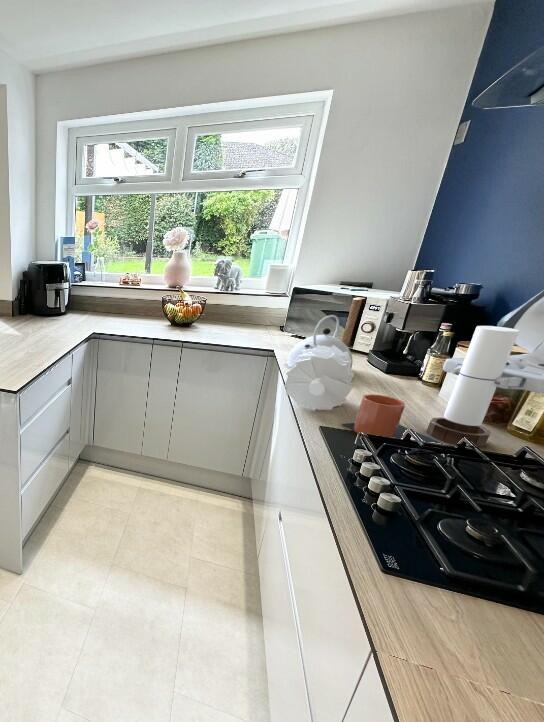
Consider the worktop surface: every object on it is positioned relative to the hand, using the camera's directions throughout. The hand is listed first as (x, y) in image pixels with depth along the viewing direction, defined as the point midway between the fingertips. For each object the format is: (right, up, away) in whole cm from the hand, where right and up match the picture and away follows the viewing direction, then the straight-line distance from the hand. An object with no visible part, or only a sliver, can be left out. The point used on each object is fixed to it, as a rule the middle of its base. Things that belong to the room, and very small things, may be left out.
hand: (477, 376), depth 103 cm
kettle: (+6, +5, +67) cm, 67 cm away
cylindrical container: (+1, -12, +4) cm, 13 cm away
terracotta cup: (-19, -16, +9) cm, 26 cm away
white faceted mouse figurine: (-20, -8, +32) cm, 38 cm away
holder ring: (+1, -17, +6) cm, 18 cm away
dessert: (-9, -15, +27) cm, 32 cm away
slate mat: (-15, -17, +6) cm, 23 cm away
